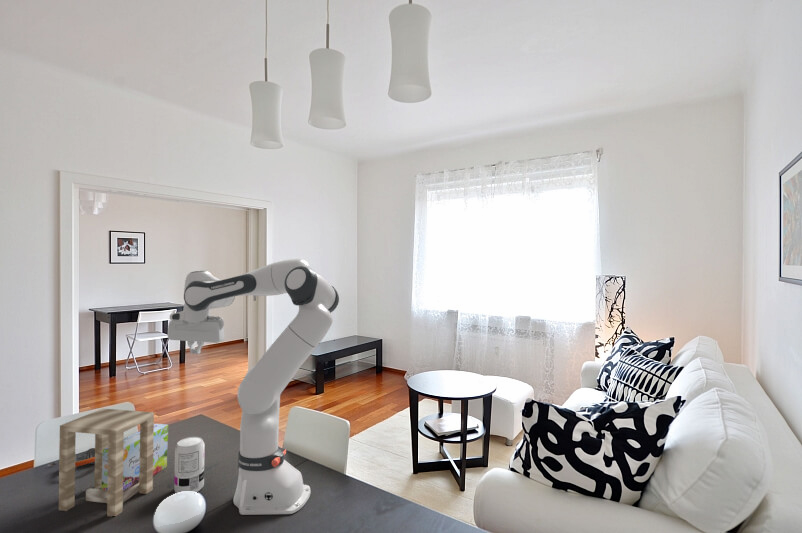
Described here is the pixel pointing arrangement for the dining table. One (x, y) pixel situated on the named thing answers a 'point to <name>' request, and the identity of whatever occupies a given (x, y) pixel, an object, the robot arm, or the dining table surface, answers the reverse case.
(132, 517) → the dining table surface
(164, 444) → the snack box
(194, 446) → the supplement can
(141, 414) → the footstool
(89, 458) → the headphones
